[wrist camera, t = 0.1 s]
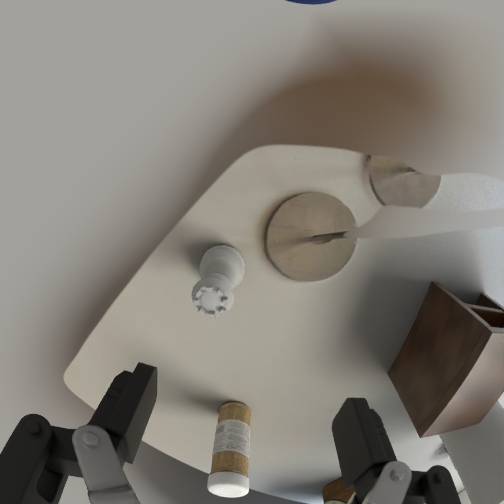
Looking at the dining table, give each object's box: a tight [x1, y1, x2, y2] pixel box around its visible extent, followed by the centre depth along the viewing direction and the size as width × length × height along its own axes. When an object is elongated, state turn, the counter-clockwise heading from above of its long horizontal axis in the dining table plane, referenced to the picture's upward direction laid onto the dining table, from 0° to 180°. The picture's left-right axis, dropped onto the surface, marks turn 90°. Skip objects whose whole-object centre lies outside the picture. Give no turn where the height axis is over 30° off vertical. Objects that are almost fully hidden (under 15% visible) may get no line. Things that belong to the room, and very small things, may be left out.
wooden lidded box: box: [388, 282, 504, 438], centre depth 24 cm, size 14×12×12 cm
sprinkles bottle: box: [207, 402, 251, 497], centre depth 28 cm, size 5×5×13 cm
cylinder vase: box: [439, 400, 504, 504], centre depth 23 cm, size 12×12×25 cm
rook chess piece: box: [192, 245, 245, 318], centre depth 24 cm, size 4×4×8 cm
